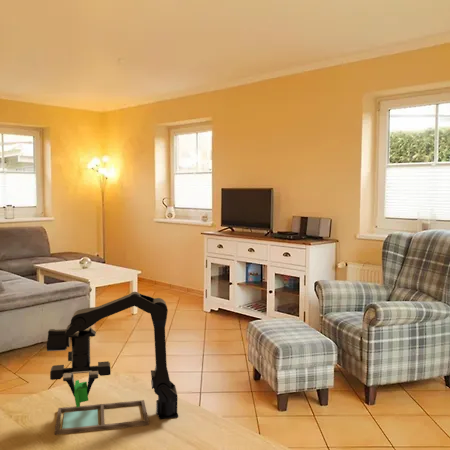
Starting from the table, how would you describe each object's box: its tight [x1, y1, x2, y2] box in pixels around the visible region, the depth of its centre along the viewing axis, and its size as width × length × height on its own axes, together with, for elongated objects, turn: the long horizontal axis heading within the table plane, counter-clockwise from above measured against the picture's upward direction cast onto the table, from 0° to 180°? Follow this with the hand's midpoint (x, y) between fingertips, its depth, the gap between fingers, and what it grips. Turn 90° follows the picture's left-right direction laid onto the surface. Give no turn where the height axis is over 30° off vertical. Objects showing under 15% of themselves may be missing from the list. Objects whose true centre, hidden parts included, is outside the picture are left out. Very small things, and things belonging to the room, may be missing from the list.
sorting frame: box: [54, 399, 150, 435], centre depth 160 cm, size 29×16×1 cm, turn 105°
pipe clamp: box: [73, 379, 90, 407], centre depth 159 cm, size 11×4×5 cm, turn 15°
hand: (81, 395), depth 158 cm, fingers closed on pipe clamp, 4 cm apart
